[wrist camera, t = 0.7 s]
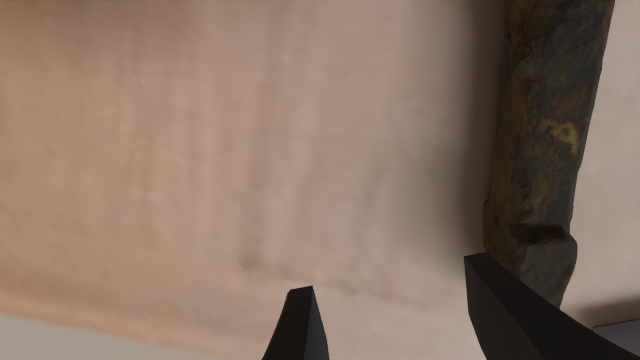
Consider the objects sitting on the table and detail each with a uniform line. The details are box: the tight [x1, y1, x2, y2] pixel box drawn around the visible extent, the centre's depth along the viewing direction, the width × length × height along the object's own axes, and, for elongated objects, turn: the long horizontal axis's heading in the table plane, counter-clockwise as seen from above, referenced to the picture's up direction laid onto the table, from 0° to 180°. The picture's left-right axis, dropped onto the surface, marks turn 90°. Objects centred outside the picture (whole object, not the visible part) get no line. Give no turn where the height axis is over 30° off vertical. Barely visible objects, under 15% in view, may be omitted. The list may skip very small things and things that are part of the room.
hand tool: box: [483, 0, 615, 310], centre depth 20 cm, size 19×4×5 cm, turn 1°
